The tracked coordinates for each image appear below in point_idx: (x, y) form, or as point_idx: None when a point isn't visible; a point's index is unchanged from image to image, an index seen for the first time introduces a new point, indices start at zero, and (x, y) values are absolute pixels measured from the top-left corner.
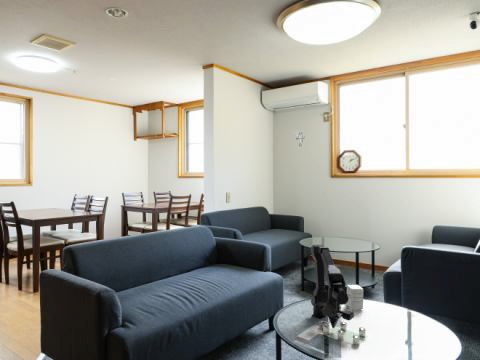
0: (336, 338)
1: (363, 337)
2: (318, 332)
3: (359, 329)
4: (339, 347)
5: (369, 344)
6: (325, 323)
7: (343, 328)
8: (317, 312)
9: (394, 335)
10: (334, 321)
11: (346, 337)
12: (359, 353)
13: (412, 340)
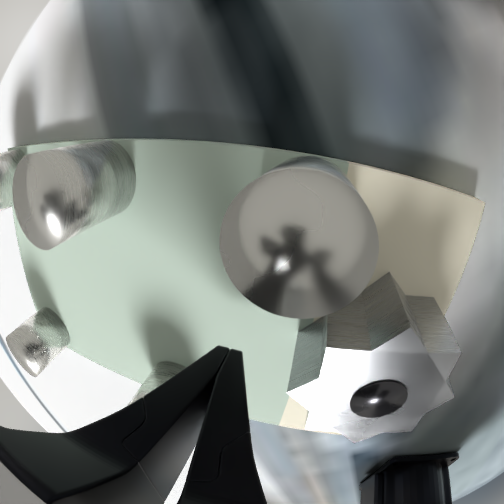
0: (143, 160)
1: (40, 309)
2: (425, 197)
3: (23, 347)
4: (95, 41)
5: (12, 252)
6: (355, 395)
7: (152, 380)
8: (427, 488)
9: (35, 377)
10: (140, 418)
11: (89, 253)
12: (5, 95)
13: (5, 353)
